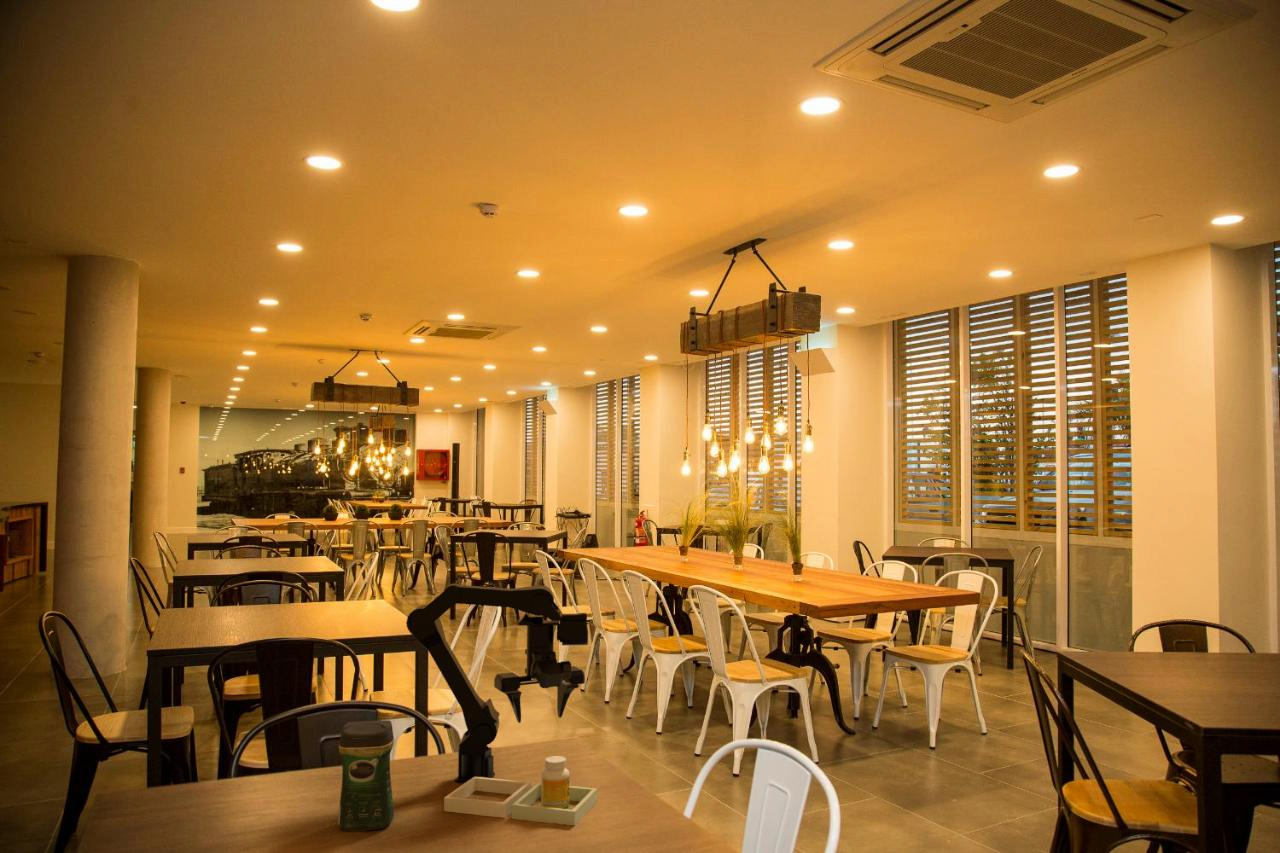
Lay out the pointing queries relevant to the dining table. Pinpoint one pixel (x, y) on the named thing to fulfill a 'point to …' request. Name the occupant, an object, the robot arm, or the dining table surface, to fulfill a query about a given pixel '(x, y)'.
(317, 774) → the dining table surface
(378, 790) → the coffee jar
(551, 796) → the supplement bottle
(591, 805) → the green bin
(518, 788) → the white bin
